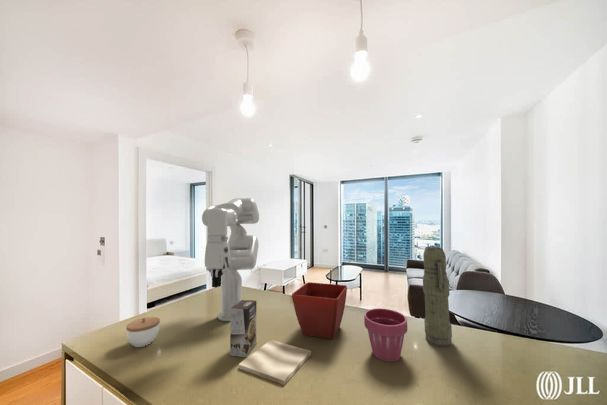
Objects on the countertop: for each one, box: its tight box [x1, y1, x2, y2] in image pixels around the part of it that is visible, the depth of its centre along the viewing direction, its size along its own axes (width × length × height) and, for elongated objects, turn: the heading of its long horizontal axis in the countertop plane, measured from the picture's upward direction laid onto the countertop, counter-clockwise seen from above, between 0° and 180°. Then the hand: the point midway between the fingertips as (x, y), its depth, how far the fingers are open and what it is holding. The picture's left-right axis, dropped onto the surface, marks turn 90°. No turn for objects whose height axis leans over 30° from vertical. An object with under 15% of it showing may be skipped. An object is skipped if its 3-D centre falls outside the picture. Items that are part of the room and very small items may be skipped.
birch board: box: [238, 339, 312, 386], centre depth 79 cm, size 17×17×1 cm
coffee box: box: [229, 299, 257, 358], centre depth 87 cm, size 9×6×16 cm
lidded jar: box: [125, 316, 161, 348], centre depth 92 cm, size 11×11×9 cm
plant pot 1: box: [291, 281, 348, 340], centre depth 101 cm, size 19×19×17 cm
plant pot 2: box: [363, 307, 408, 362], centre depth 82 cm, size 14×14×13 cm
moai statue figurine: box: [422, 246, 453, 348], centre depth 92 cm, size 9×12×35 cm
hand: (216, 286), depth 94 cm, fingers closed
